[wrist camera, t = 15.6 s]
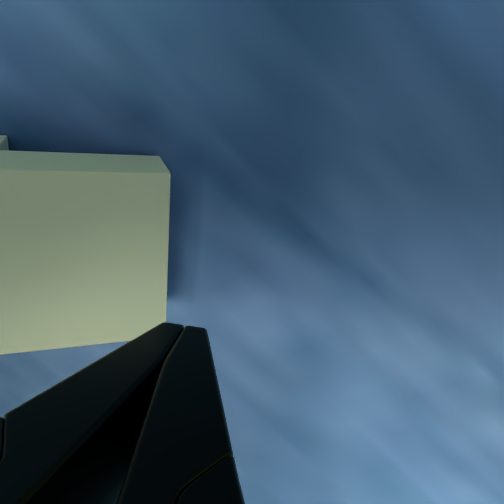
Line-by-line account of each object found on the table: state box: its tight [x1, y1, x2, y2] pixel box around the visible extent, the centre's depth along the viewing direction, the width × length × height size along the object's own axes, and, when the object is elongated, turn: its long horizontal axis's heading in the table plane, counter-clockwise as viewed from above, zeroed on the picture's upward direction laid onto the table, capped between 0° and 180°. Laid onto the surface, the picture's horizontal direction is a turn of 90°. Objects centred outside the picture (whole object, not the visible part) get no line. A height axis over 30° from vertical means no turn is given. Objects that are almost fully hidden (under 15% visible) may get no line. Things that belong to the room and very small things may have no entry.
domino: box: [0, 150, 171, 355], centre depth 11 cm, size 2×5×8 cm
